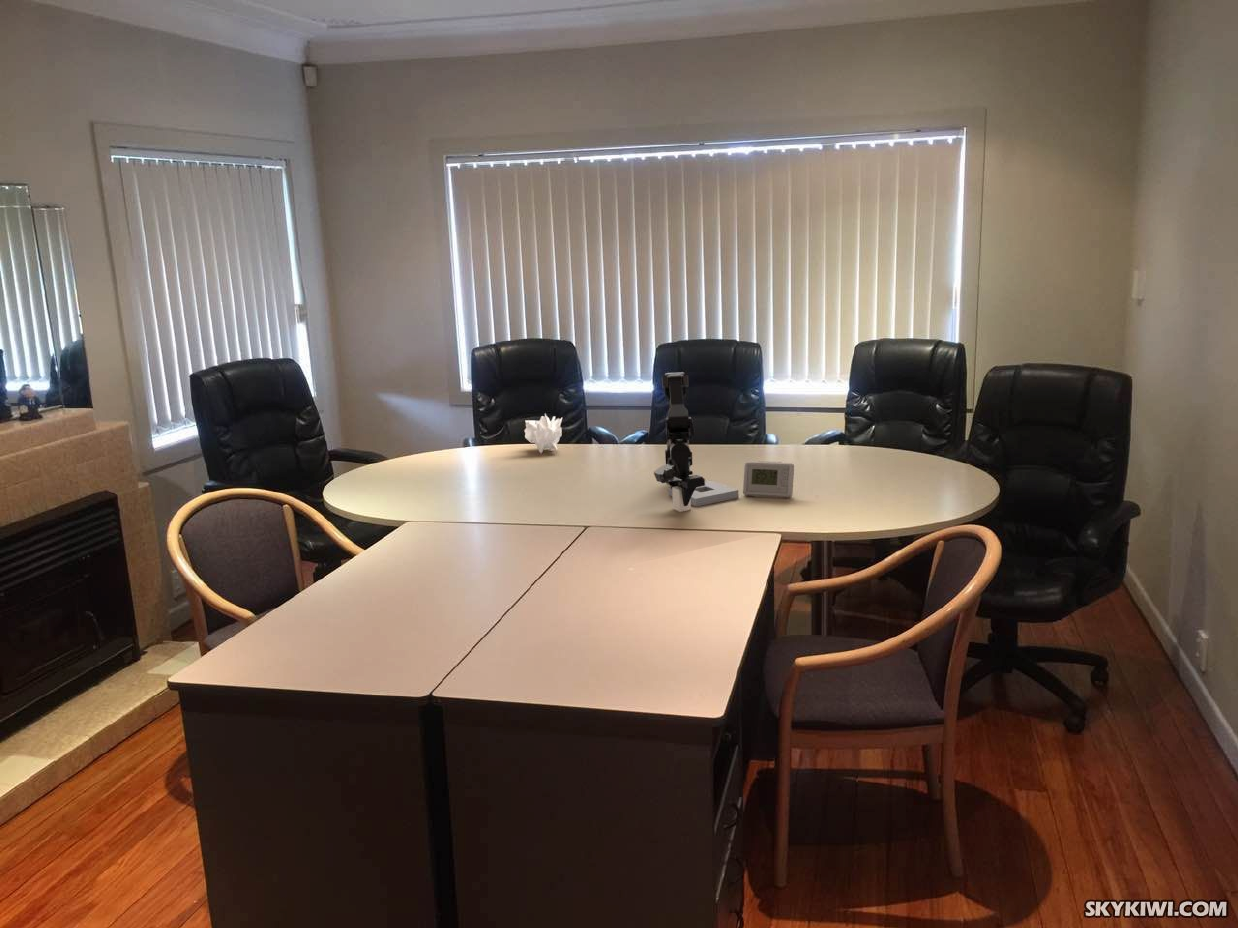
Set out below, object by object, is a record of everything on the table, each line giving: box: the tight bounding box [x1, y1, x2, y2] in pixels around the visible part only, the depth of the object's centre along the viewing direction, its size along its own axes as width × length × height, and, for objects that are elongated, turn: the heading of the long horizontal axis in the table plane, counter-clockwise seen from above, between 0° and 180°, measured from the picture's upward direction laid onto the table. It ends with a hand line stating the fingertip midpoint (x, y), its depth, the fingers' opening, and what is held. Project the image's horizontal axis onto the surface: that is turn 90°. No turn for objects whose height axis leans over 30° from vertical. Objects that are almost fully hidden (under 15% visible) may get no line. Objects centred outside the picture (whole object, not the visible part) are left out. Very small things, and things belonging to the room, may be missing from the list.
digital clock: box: [742, 460, 795, 499], centre depth 325 cm, size 16×9×11 cm, turn 56°
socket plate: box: [668, 480, 739, 507], centre depth 328 cm, size 16×16×2 cm
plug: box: [672, 480, 692, 513], centre depth 315 cm, size 4×4×9 cm
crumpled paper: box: [524, 413, 563, 454], centre depth 408 cm, size 20×17×15 cm
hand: (681, 504), depth 315 cm, fingers closed on plug, 4 cm apart
